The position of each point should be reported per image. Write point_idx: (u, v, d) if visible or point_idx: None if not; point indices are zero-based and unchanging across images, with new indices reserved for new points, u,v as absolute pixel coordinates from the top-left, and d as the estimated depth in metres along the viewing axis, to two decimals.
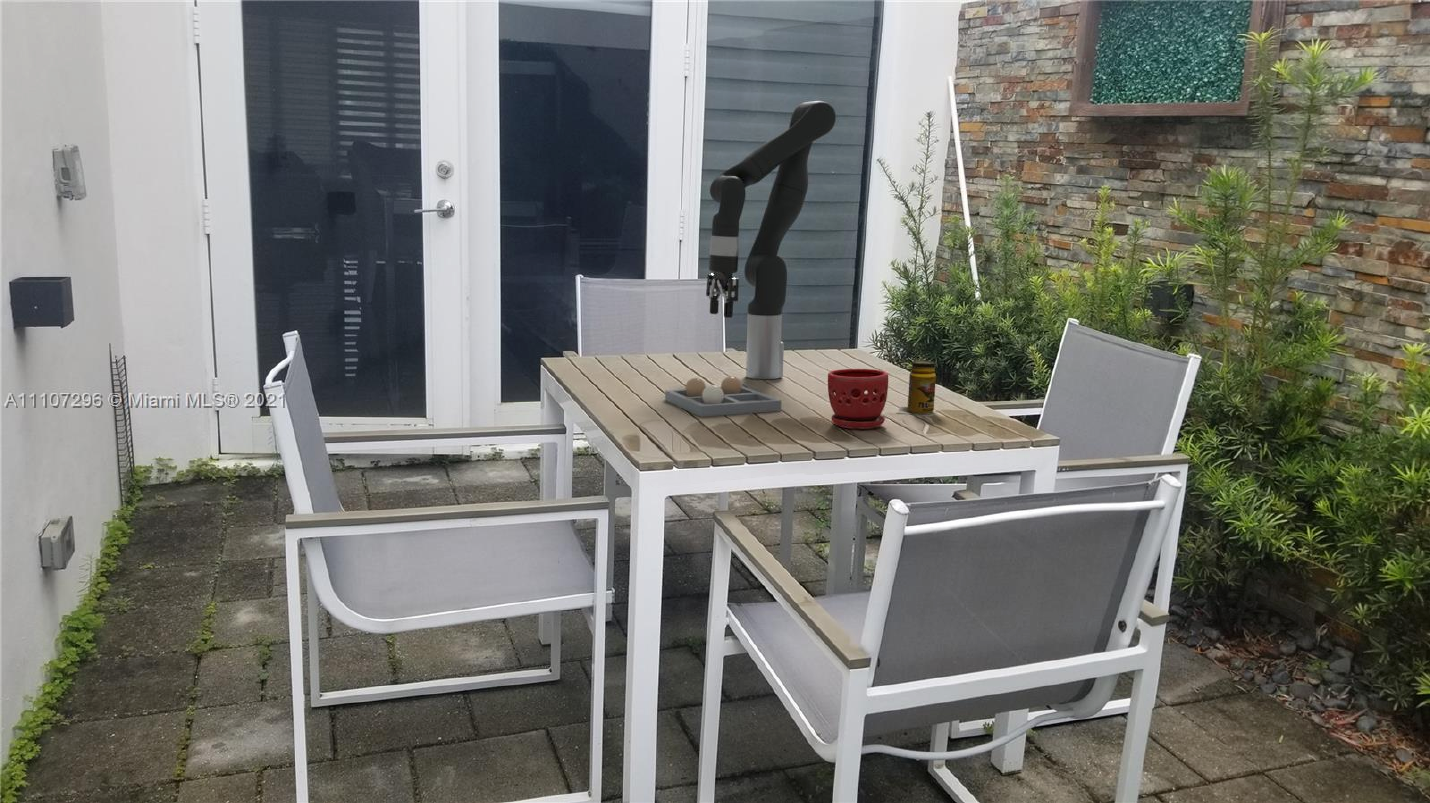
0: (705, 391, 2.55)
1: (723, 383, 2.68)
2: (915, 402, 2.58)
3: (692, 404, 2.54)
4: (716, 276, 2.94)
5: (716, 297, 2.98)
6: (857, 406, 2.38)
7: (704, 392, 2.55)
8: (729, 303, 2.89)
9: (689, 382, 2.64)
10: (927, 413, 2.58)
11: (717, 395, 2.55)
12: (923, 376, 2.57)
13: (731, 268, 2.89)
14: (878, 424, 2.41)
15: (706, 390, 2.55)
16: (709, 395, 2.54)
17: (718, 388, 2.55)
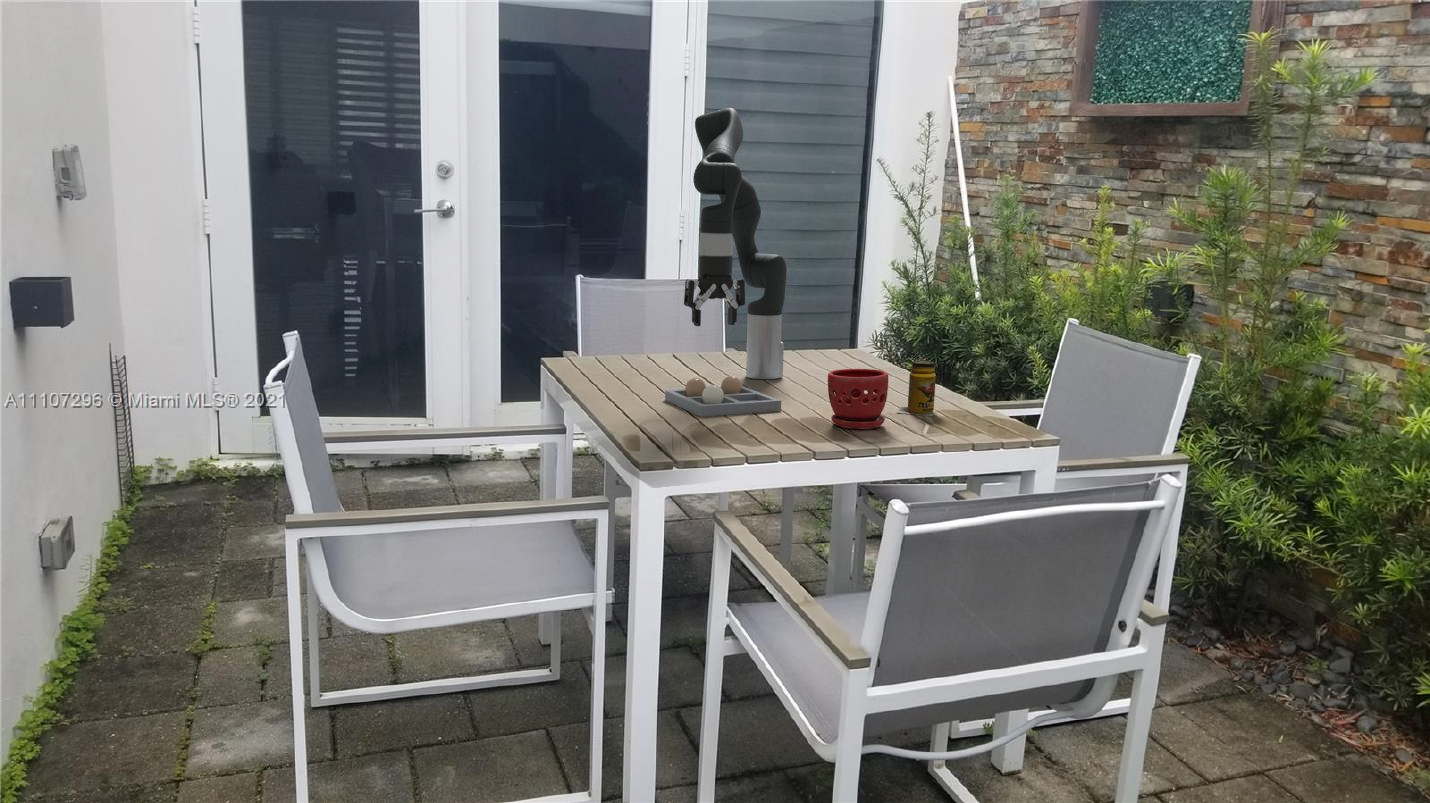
0: (705, 391, 2.55)
1: (723, 383, 2.68)
2: (915, 402, 2.58)
3: (692, 404, 2.54)
4: (711, 281, 2.50)
5: None
6: (857, 406, 2.38)
7: (704, 392, 2.55)
8: None
9: (689, 382, 2.64)
10: (927, 413, 2.58)
11: (717, 395, 2.55)
12: (923, 376, 2.57)
13: None
14: (878, 424, 2.41)
15: (706, 390, 2.55)
16: (709, 395, 2.54)
17: (718, 388, 2.55)
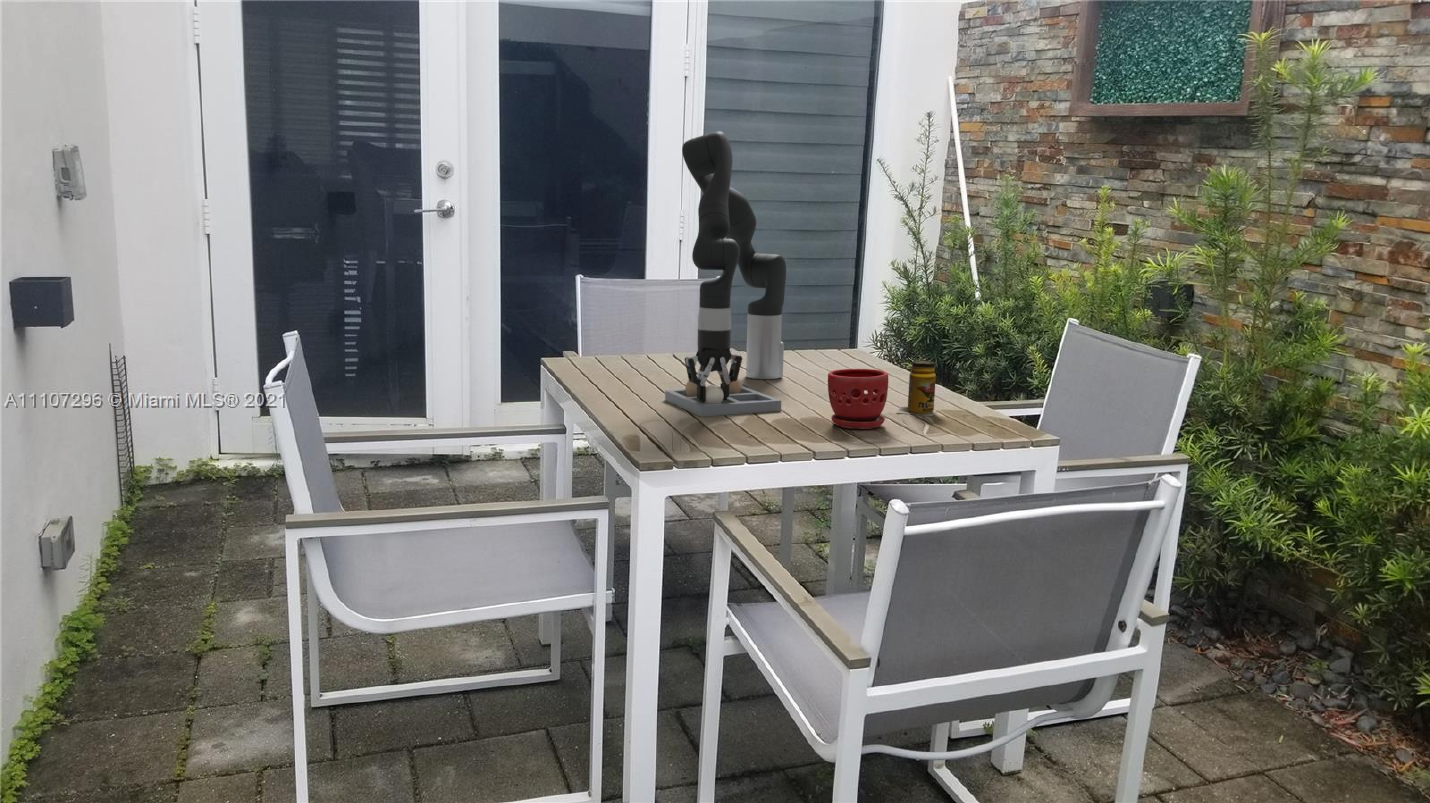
0: None
1: None
2: (915, 402, 2.58)
3: (692, 404, 2.54)
4: (709, 354, 2.53)
5: None
6: (857, 406, 2.38)
7: None
8: None
9: (689, 382, 2.64)
10: (927, 413, 2.58)
11: (717, 395, 2.55)
12: (923, 376, 2.57)
13: None
14: (878, 424, 2.41)
15: (706, 390, 2.55)
16: (709, 395, 2.54)
17: (718, 388, 2.55)
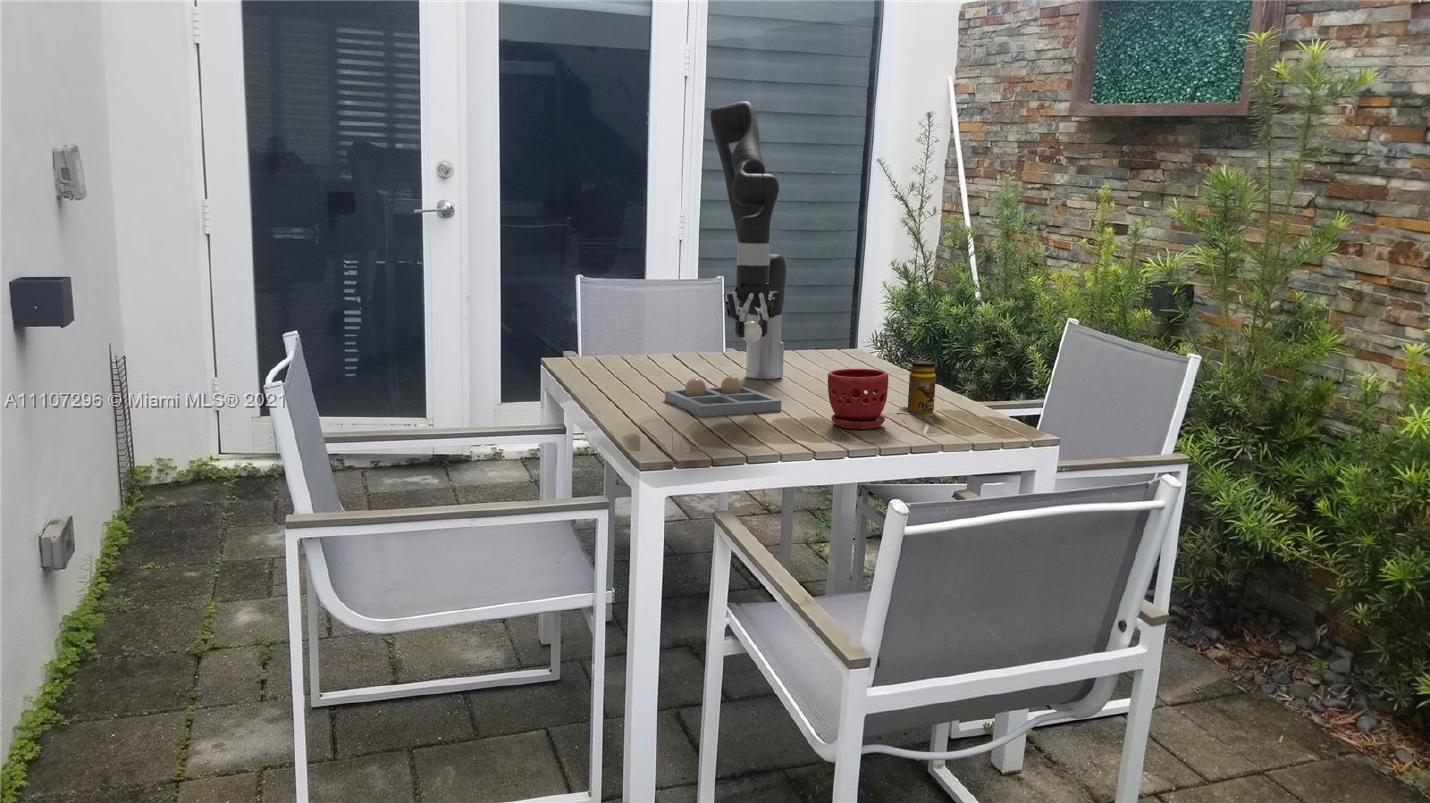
0: (744, 326, 2.57)
1: (723, 383, 2.68)
2: (915, 402, 2.58)
3: (692, 404, 2.54)
4: (748, 289, 2.55)
5: None
6: (857, 406, 2.38)
7: None
8: None
9: (689, 382, 2.64)
10: (927, 413, 2.58)
11: (756, 331, 2.56)
12: (923, 376, 2.57)
13: None
14: (878, 424, 2.41)
15: (745, 326, 2.56)
16: (748, 330, 2.56)
17: (757, 324, 2.57)
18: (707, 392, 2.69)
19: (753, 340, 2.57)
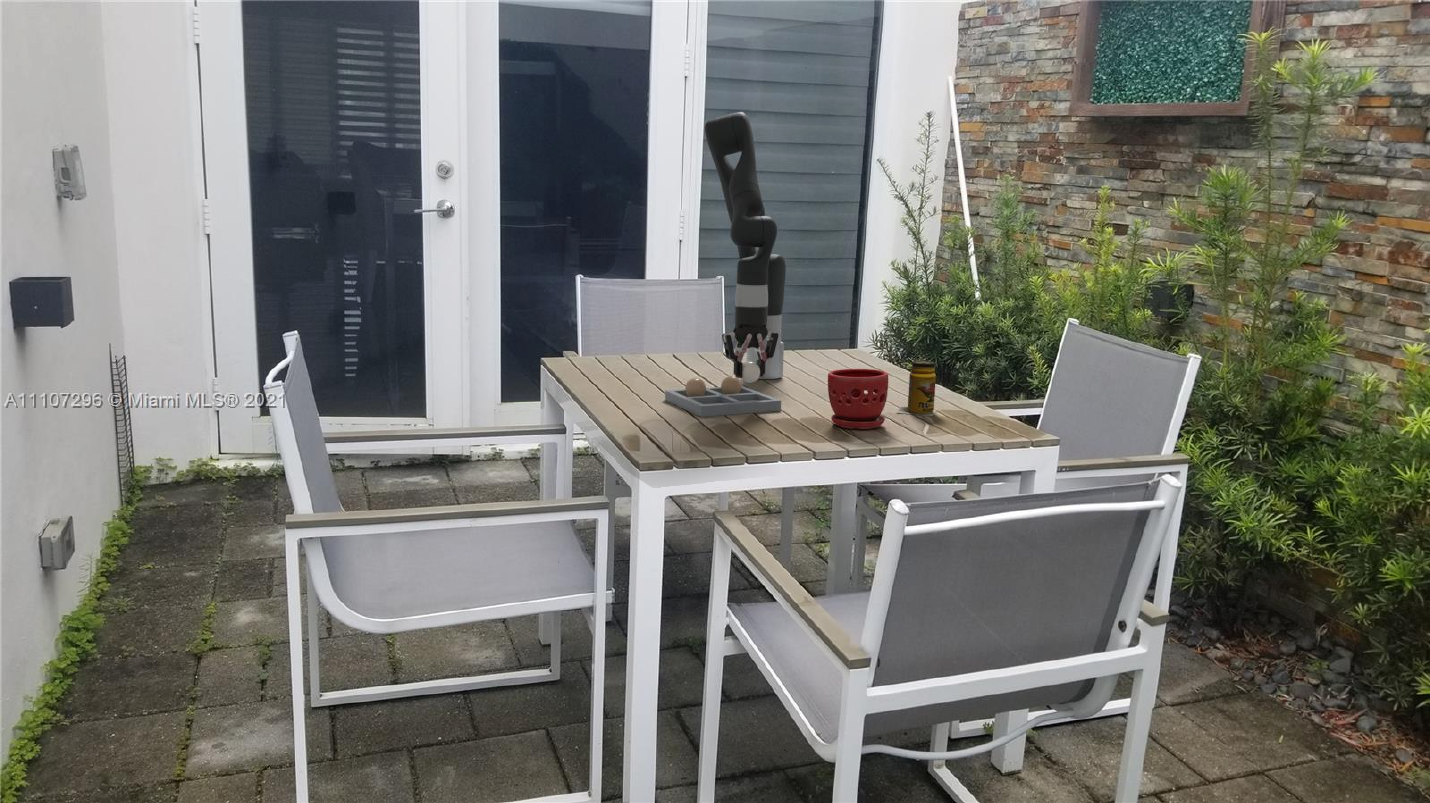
0: (742, 367, 2.58)
1: (723, 383, 2.68)
2: (915, 402, 2.58)
3: (692, 404, 2.54)
4: (746, 330, 2.56)
5: None
6: (857, 406, 2.38)
7: None
8: None
9: (689, 382, 2.64)
10: (927, 413, 2.58)
11: (754, 372, 2.58)
12: (923, 376, 2.57)
13: None
14: (878, 424, 2.41)
15: (743, 366, 2.58)
16: (746, 371, 2.57)
17: (755, 364, 2.59)
18: (707, 392, 2.69)
19: (751, 380, 2.59)
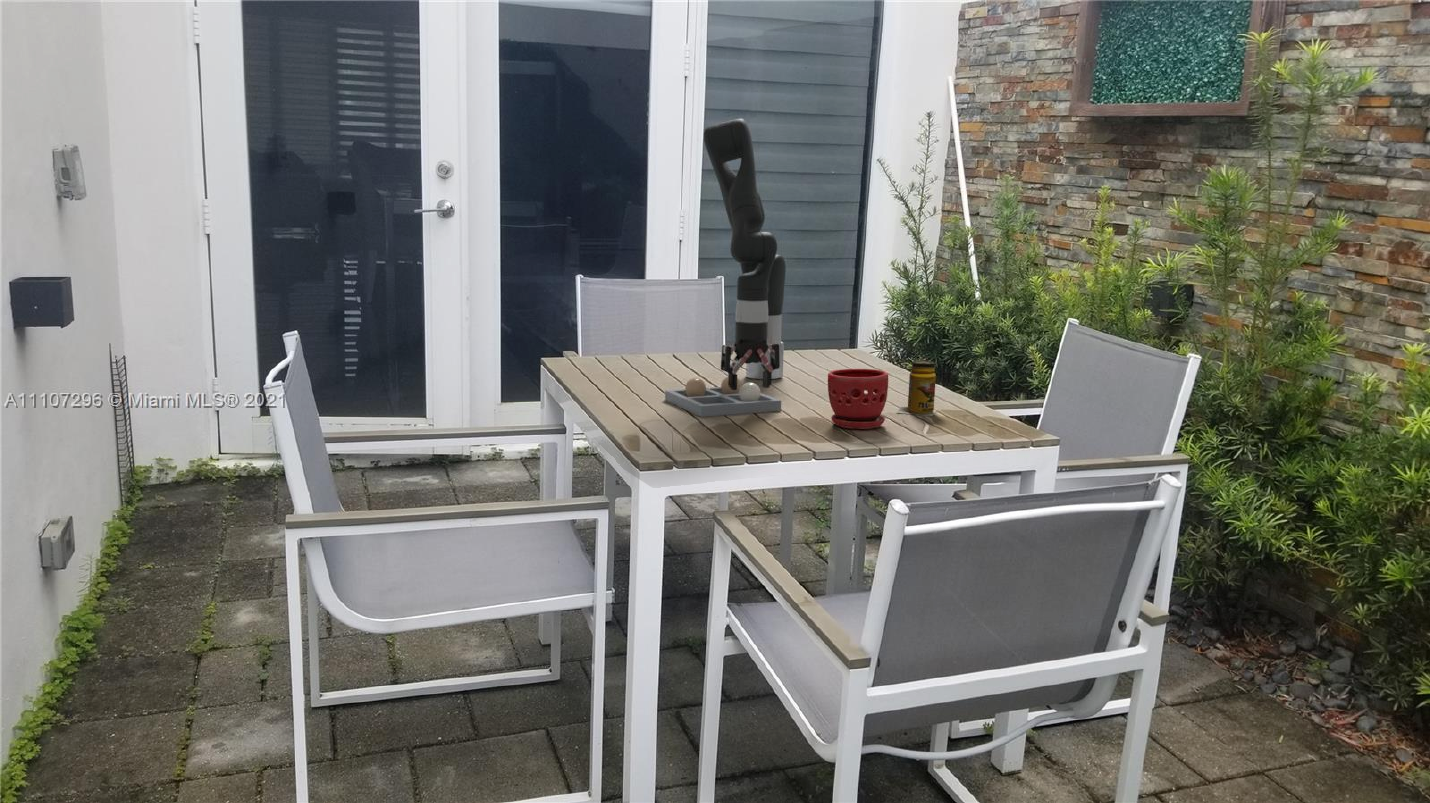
0: (742, 388, 2.59)
1: (723, 383, 2.68)
2: (915, 402, 2.58)
3: (692, 404, 2.54)
4: (747, 346, 2.57)
5: None
6: (857, 406, 2.38)
7: (741, 390, 2.60)
8: None
9: (689, 382, 2.64)
10: (927, 413, 2.58)
11: (754, 393, 2.59)
12: (923, 376, 2.57)
13: None
14: (878, 424, 2.41)
15: (743, 388, 2.59)
16: (746, 392, 2.58)
17: (755, 386, 2.60)
18: (707, 392, 2.69)
19: None
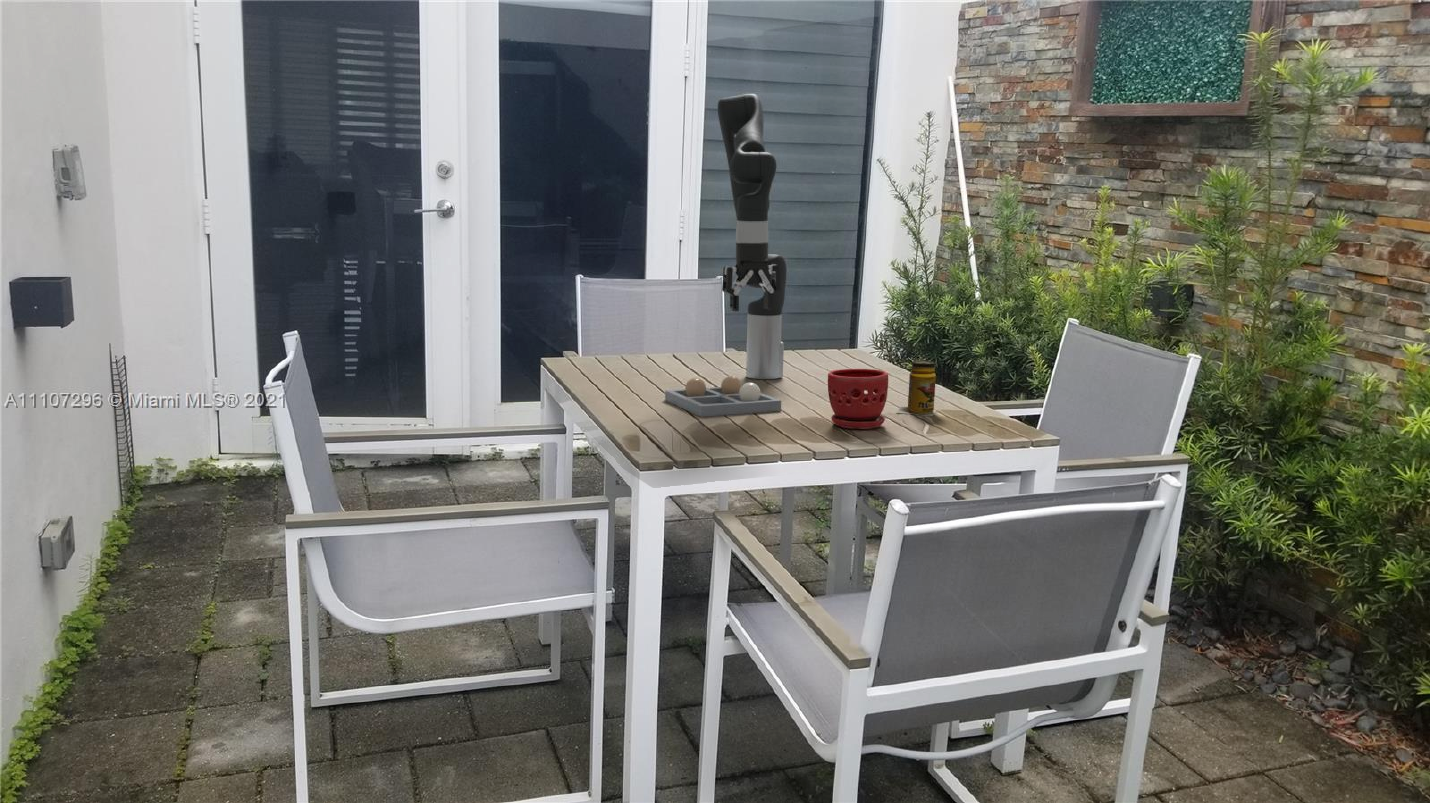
0: (742, 388, 2.59)
1: (723, 383, 2.68)
2: (915, 402, 2.58)
3: (692, 404, 2.54)
4: (748, 267, 2.58)
5: None
6: (857, 406, 2.38)
7: (741, 390, 2.59)
8: None
9: (689, 382, 2.64)
10: (927, 413, 2.58)
11: (754, 393, 2.59)
12: (923, 376, 2.57)
13: None
14: (878, 424, 2.41)
15: (743, 388, 2.59)
16: (746, 392, 2.58)
17: (755, 386, 2.60)
18: (707, 392, 2.69)
19: None
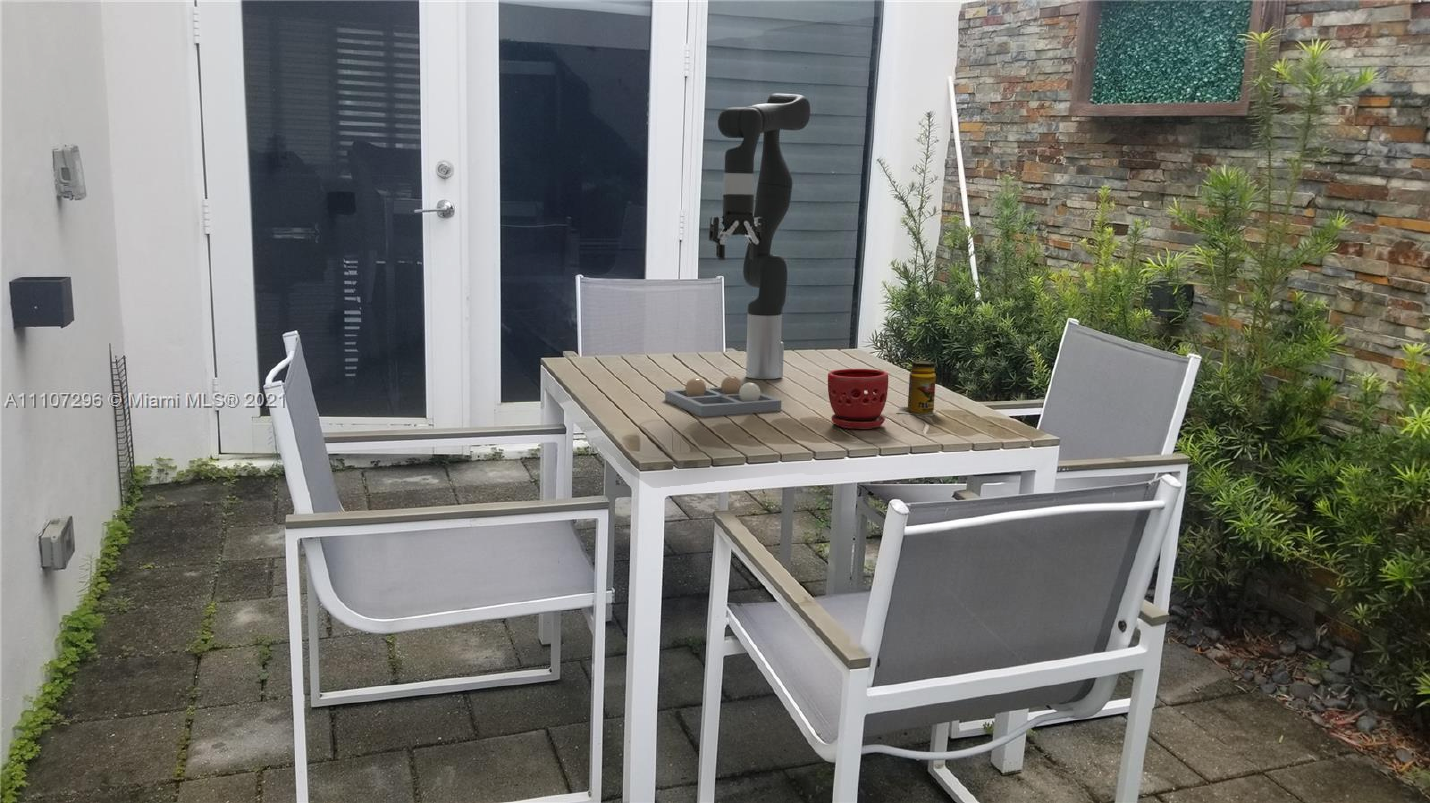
0: (742, 388, 2.59)
1: (723, 383, 2.68)
2: (915, 402, 2.58)
3: (692, 404, 2.54)
4: (734, 218, 2.70)
5: None
6: (857, 406, 2.38)
7: (741, 390, 2.59)
8: None
9: (689, 382, 2.64)
10: (927, 413, 2.58)
11: (754, 393, 2.59)
12: (923, 376, 2.57)
13: None
14: (878, 424, 2.41)
15: (743, 388, 2.59)
16: (746, 392, 2.58)
17: (755, 386, 2.59)
18: (707, 392, 2.69)
19: None
